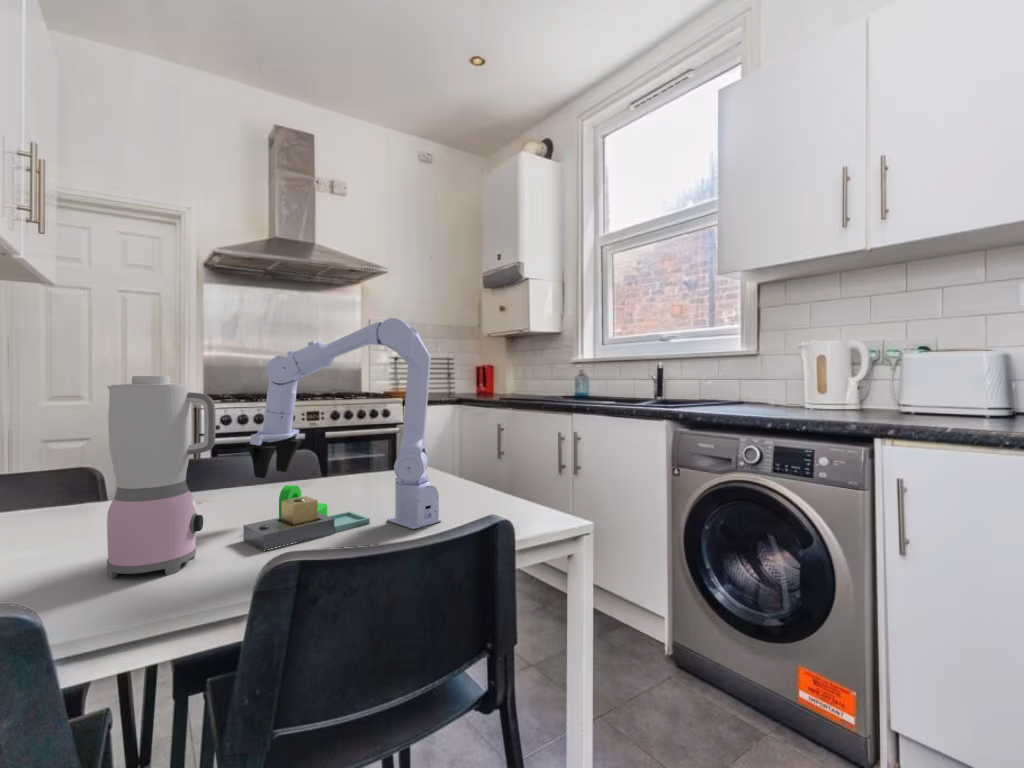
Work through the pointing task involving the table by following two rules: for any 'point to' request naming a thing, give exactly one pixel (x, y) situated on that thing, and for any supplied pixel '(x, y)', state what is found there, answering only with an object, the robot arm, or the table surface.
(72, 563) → the table surface
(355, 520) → the tray
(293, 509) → the block
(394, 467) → the robot arm
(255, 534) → the grey slotted block
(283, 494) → the mechanical part
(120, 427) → the blender
